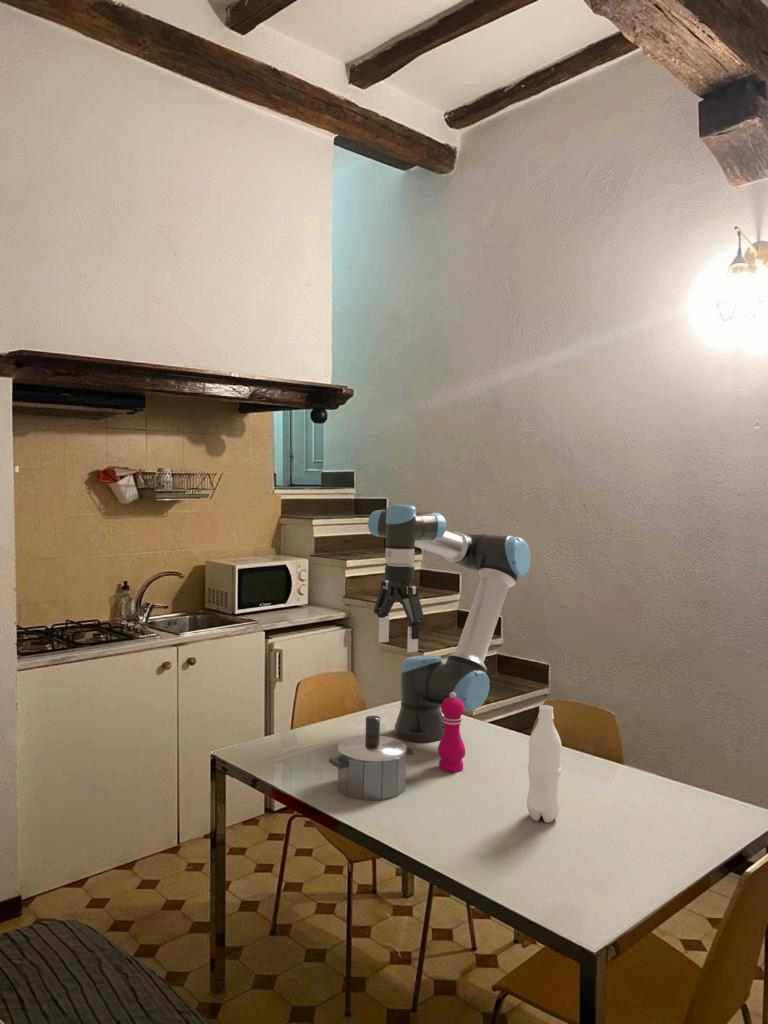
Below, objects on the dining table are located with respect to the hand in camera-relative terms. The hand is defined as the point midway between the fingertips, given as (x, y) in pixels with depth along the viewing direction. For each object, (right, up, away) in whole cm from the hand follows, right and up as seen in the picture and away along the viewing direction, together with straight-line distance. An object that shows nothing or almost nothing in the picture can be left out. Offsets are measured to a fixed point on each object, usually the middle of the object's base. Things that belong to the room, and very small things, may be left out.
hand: (397, 646), depth 205 cm
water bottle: (+32, -34, -28) cm, 54 cm away
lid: (-6, -25, -12) cm, 28 cm away
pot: (-7, -32, -12) cm, 35 cm away
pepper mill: (+14, -32, +2) cm, 35 cm away
